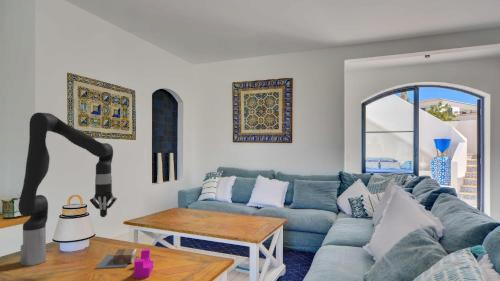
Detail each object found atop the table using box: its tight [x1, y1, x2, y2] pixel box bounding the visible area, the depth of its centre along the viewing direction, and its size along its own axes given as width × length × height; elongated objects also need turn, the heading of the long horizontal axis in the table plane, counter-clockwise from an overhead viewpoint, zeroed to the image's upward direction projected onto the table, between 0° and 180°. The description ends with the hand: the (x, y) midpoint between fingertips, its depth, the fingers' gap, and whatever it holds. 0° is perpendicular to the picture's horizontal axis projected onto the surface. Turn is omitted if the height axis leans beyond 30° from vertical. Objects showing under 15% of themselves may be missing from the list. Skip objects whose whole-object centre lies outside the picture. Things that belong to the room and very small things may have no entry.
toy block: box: [133, 248, 154, 279], centre depth 139 cm, size 15×6×8 cm, turn 7°
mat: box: [94, 254, 130, 270], centre depth 149 cm, size 14×16×1 cm
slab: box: [112, 248, 137, 264], centre depth 150 cm, size 4×8×9 cm
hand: (103, 216), depth 148 cm, fingers closed
